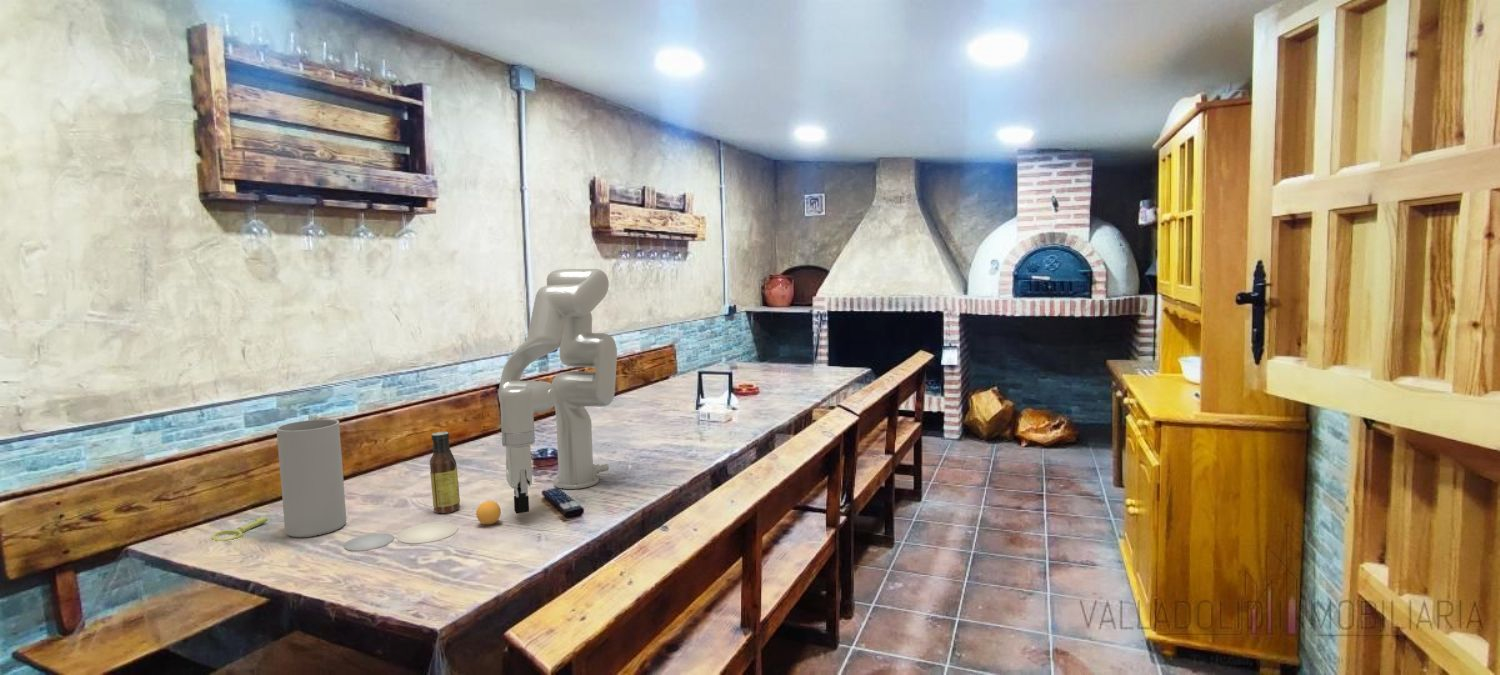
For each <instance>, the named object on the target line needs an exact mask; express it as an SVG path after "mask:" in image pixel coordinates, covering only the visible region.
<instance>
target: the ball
mask: <svg viewBox="0 0 1500 675" xmlns="http://www.w3.org/2000/svg"><path fill="white" fill-rule="evenodd" d="M501 513H502V511H501V506H500V505H499V504H498V503H497V502H495V501H493V500H487V501H484V502H482V503H480V504H479V506H478V507H477V509H476V513H475V514H476V515H475V516H476V518H477V521H478V522H480V523H481V524H483V525H487V526H488V525H493V524H495V523H496V522H497V521H498V520H499V519H500V517H501Z"/></svg>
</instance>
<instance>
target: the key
mask: <svg viewBox="0 0 1500 675" xmlns="http://www.w3.org/2000/svg"><path fill="white" fill-rule="evenodd" d="M268 520H269V519H268V517H267V516H263V517H257V518H256V519H255V520H254V521H253V522H251V523H248V524H247V525H244V526H238V527H237V529H227V530H225V529H224V530H221V531H218V532H215V533H213V534H212V536H211V540H212V541H213V540H215V541H214V542H218V541H228V540H234V539H238V538H241V537H242V538H243V537H244V533H246V532H247V531H249V530H251V528H252V529H254V528H256V527H257V526H260V525H262V524H264V523H266V522H268ZM255 526H256V527H255ZM253 527H254V528H253ZM248 529H249V530H248ZM246 530H247V531H246ZM242 532H244V533H242ZM222 534H228V535H231V534H236V535H235V536H234V537H229V538H218V537H219V536H218V535H220V536H223V535H222ZM216 536H217V537H216ZM242 538H241V539H242ZM238 540H239V539H238ZM234 541H235V540H234ZM228 542H229V541H228Z"/></svg>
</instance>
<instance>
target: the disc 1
mask: <svg viewBox="0 0 1500 675" xmlns="http://www.w3.org/2000/svg"><path fill="white" fill-rule="evenodd" d="M394 540H395V536H394V535H393V534H391V533H386V532H384V533H383V532H382V533H381V532H378V533H370V534H363V535H358V536H357V537H353V538H351V539H350V540H348V541H346V542H345V543H344V544H343V548H344V550H346V551H351V552H364V551H369V550H375V549H379V548H382V547H385V546H387V545H389V544H390V543H391V544H392V542H393V541H394Z"/></svg>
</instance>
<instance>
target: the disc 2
mask: <svg viewBox="0 0 1500 675" xmlns="http://www.w3.org/2000/svg"><path fill="white" fill-rule="evenodd" d="M458 530H459V527H458V525H457V524H456V523H452V522H446V521H445V522H444V521H443V522H442V521H437V522H434V521H433V522H425V523H421V524H417V525H413V526H411V527H407V528H405V529H403V530H401V531H400V532H398V534H397V535H396V540H397V541H399V542H401V543H403V544H412V545H414V544H415V545H417V544H426V543H427V544H428V543H433V542H434V543H435V542H437V541H441V540H443V539H444V540H445V539H447V538H450V537H451V536H453V535H455V534H456V533H457V532H458Z"/></svg>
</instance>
